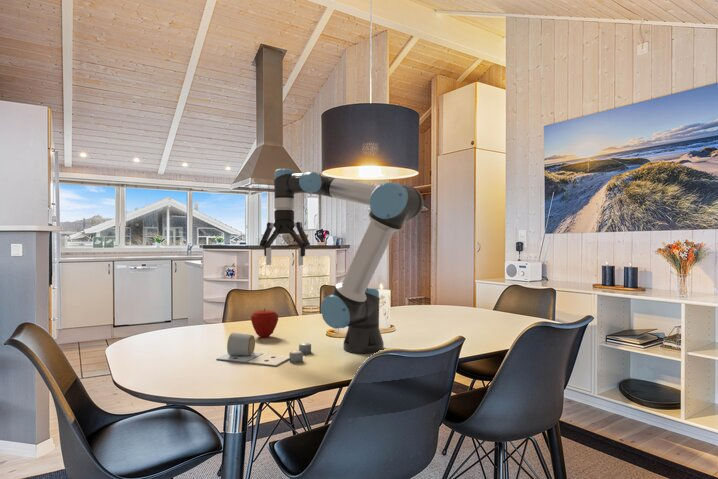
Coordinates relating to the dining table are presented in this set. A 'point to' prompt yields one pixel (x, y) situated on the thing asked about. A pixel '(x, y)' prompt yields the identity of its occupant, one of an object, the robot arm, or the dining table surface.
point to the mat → (256, 359)
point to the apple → (264, 322)
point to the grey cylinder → (240, 344)
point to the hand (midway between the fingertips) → (284, 265)
